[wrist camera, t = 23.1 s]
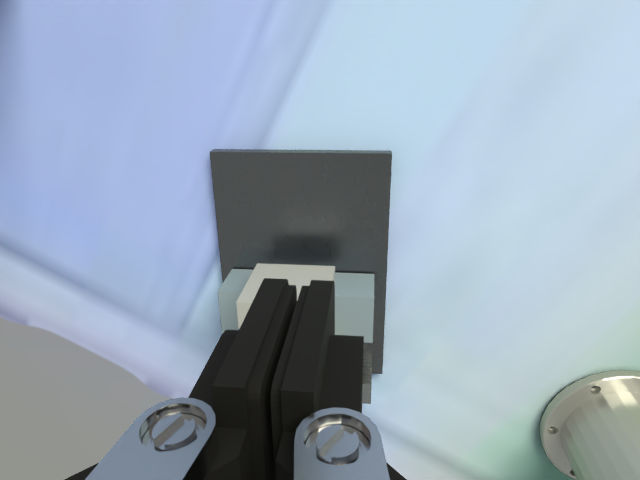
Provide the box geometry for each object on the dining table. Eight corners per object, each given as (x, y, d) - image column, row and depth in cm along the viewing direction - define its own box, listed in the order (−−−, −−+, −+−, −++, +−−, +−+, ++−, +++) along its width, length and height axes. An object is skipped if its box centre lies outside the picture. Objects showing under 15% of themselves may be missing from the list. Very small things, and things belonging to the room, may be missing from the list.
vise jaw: (375, 251, 38) (375, 307, 30) (372, 316, 41) (372, 384, 32) (230, 247, 40) (191, 299, 31) (235, 309, 42) (201, 374, 34)
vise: (391, 150, 36) (393, 165, 32) (381, 366, 44) (382, 404, 39) (213, 149, 38) (191, 163, 33) (233, 358, 45) (218, 393, 41)
